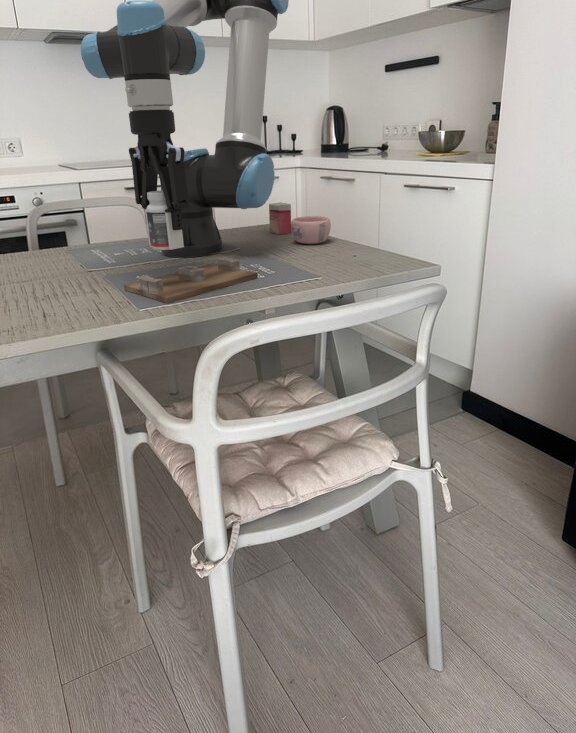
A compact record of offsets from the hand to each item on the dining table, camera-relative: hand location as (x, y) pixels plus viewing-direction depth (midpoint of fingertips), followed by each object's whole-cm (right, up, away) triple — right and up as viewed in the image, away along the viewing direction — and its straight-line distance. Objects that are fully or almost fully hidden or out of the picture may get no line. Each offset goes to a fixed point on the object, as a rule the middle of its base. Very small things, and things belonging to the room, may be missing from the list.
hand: (166, 245), depth 106 cm
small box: (+21, +15, +54) cm, 60 cm away
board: (+4, -6, +7) cm, 10 cm away
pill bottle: (0, 0, 0) cm, 1 cm away
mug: (+28, +9, +41) cm, 51 cm away
